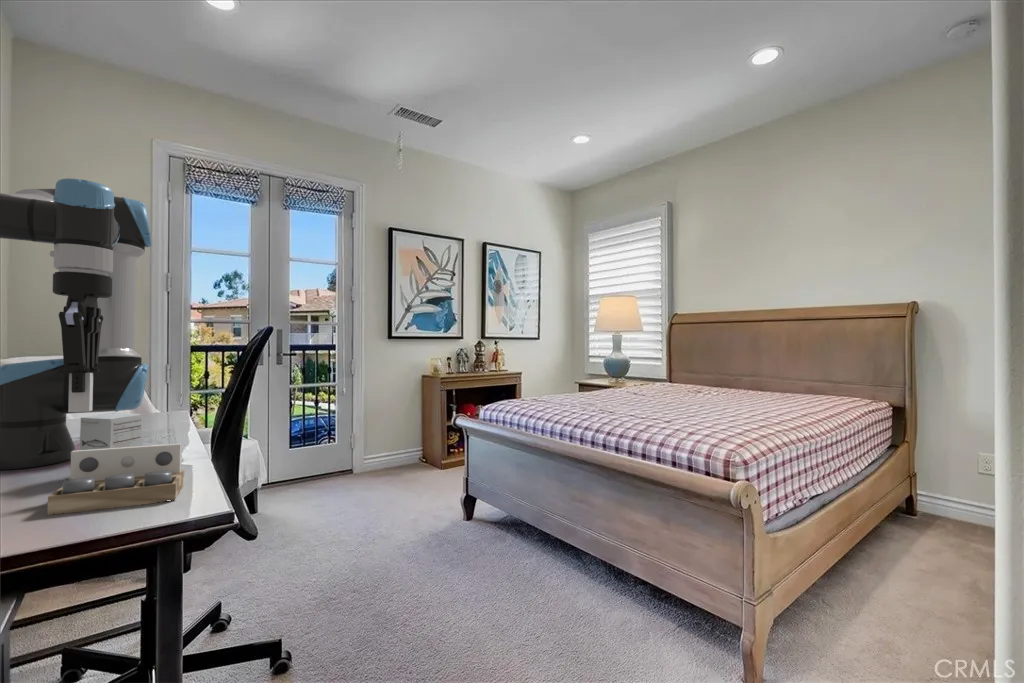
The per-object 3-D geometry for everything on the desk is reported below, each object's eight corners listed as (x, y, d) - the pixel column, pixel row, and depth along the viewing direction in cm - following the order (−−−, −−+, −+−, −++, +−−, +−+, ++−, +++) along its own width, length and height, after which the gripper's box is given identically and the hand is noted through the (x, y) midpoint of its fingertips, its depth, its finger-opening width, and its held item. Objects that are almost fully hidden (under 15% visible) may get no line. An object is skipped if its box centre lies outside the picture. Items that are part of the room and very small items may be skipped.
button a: (67, 493, 81) (67, 478, 81) (97, 490, 83) (97, 475, 83) (58, 500, 77) (58, 485, 77) (90, 496, 79) (90, 482, 79)
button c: (147, 485, 86) (147, 471, 86) (173, 482, 88) (173, 469, 88) (141, 491, 82) (142, 477, 82) (169, 488, 84) (170, 474, 84)
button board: (70, 496, 85) (70, 480, 85) (184, 485, 93) (184, 469, 93) (47, 515, 76) (47, 496, 76) (175, 500, 84) (175, 484, 84)
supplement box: (77, 479, 95) (78, 417, 95) (113, 469, 102) (114, 411, 102) (108, 481, 94) (110, 418, 94) (142, 471, 101) (143, 413, 101)
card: (72, 481, 84) (73, 450, 84) (180, 471, 91) (181, 443, 91) (69, 483, 83) (70, 452, 83) (179, 473, 90) (180, 444, 90)
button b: (108, 489, 83) (108, 474, 83) (136, 486, 85) (137, 472, 85) (101, 495, 80) (101, 481, 80) (131, 492, 82) (131, 478, 82)
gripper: (68, 275, 84) (65, 407, 84) (37, 265, 72) (33, 418, 72) (122, 279, 87) (119, 405, 87) (99, 270, 76) (96, 415, 76)
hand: (80, 411), depth 80 cm, fingers closed
